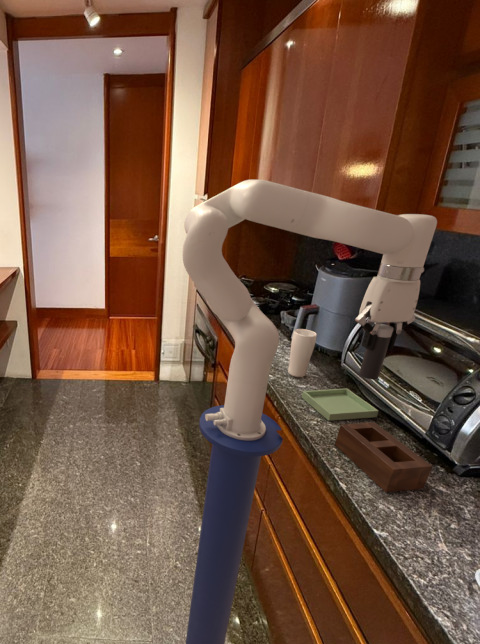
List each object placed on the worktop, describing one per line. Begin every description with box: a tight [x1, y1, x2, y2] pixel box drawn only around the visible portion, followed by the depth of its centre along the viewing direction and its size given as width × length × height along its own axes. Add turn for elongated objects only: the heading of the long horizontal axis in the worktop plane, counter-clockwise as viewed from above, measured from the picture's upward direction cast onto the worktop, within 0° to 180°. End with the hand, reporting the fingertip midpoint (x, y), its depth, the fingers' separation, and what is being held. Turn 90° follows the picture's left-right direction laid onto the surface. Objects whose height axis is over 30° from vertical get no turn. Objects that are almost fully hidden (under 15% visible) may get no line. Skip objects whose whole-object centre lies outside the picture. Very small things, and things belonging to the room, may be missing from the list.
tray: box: [301, 388, 379, 422], centre depth 110 cm, size 14×12×2 cm
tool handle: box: [358, 323, 394, 380], centre depth 93 cm, size 4×4×13 cm
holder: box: [334, 421, 433, 493], centre depth 87 cm, size 9×16×6 cm, turn 7°
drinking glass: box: [287, 328, 318, 378], centre depth 126 cm, size 7×7×15 cm
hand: (376, 347), depth 92 cm, fingers closed on tool handle, 4 cm apart
